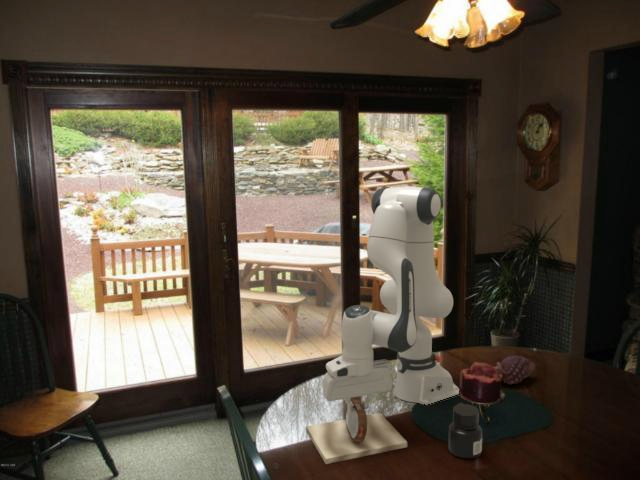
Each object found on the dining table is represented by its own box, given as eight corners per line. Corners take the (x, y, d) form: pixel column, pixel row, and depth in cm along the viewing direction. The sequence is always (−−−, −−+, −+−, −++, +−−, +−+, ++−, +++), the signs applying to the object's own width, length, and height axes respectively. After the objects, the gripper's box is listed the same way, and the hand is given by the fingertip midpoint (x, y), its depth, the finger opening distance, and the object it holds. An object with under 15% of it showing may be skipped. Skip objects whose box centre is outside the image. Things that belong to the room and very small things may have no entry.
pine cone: (525, 373, 193) (526, 347, 192) (544, 384, 184) (546, 357, 182) (484, 381, 187) (485, 354, 186) (502, 392, 178) (504, 364, 177)
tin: (362, 448, 143) (371, 420, 142) (351, 446, 143) (360, 417, 142) (351, 421, 158) (359, 395, 157) (341, 419, 157) (349, 393, 156)
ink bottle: (484, 461, 138) (485, 419, 137) (449, 459, 140) (450, 417, 138) (479, 442, 148) (480, 402, 146) (447, 440, 149) (447, 400, 147)
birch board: (379, 417, 163) (379, 412, 163) (407, 447, 146) (407, 442, 146) (306, 431, 156) (306, 426, 155) (325, 464, 139) (325, 459, 138)
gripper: (386, 354, 154) (386, 398, 156) (320, 364, 148) (321, 410, 150) (396, 362, 148) (396, 407, 150) (327, 373, 142) (328, 420, 144)
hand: (358, 409), depth 150 cm, fingers open, 3 cm apart
